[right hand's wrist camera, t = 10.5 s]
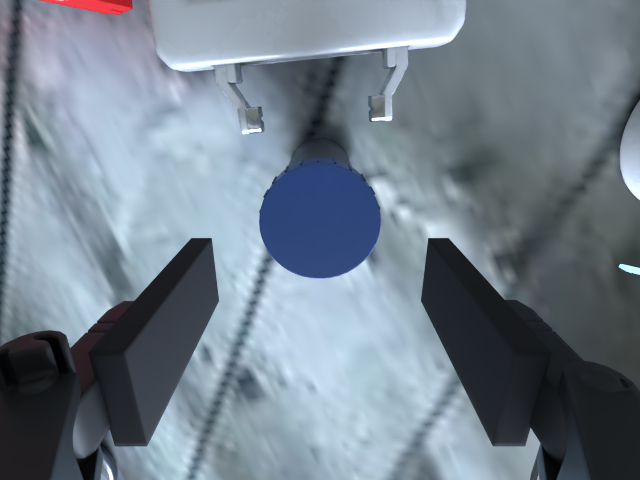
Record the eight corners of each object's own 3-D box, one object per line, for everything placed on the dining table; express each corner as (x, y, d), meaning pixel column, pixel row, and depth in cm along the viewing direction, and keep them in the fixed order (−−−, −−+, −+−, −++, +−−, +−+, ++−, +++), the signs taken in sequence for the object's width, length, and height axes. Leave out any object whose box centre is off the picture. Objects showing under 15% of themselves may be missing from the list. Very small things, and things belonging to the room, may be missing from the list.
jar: (357, 148, 34) (386, 189, 19) (338, 203, 35) (351, 279, 21) (300, 129, 33) (284, 156, 18) (283, 186, 35) (257, 252, 20)
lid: (393, 177, 20) (401, 185, 18) (354, 277, 22) (357, 293, 21) (281, 140, 19) (276, 144, 18) (251, 247, 22) (245, 261, 20)
